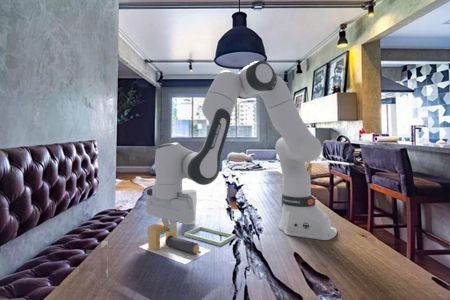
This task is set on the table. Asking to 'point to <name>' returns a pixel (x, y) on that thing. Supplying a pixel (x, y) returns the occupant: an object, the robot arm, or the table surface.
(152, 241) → the wooden bridge piece
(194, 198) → the drinking glass
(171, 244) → the battery
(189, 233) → the green rectangular frame
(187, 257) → the station
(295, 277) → the table surface
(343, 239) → the table surface
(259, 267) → the table surface
